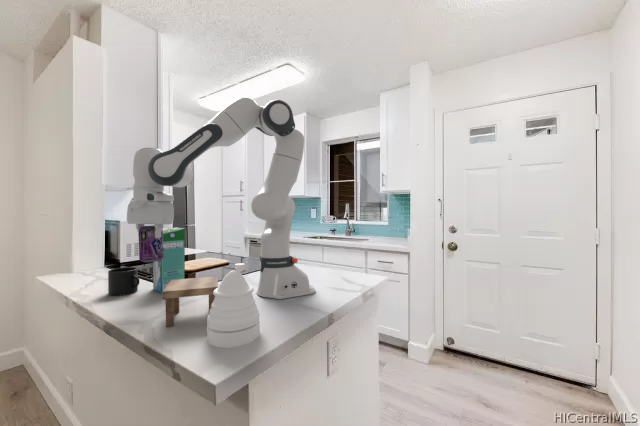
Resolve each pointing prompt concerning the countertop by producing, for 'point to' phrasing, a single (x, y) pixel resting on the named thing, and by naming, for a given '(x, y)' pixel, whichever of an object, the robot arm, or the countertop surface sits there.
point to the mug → (123, 281)
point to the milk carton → (170, 259)
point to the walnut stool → (187, 293)
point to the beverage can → (150, 245)
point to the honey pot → (233, 312)
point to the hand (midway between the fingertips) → (149, 237)
